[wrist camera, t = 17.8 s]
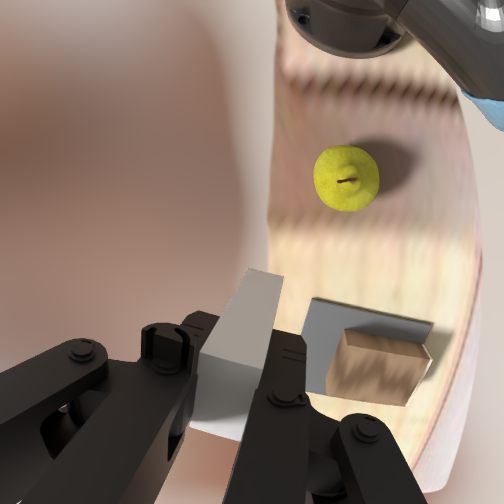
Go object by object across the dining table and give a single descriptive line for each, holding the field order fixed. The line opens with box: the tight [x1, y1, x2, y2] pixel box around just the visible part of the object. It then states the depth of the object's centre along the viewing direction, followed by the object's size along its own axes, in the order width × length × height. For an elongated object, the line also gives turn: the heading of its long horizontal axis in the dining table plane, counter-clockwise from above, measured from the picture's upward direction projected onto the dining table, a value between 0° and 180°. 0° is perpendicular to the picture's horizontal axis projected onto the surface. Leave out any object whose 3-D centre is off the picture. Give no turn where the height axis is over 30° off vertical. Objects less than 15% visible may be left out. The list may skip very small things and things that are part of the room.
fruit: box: [314, 145, 380, 212], centre depth 29 cm, size 7×7×12 cm
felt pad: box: [301, 298, 431, 395], centre depth 39 cm, size 14×17×1 cm
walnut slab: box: [325, 329, 433, 407], centre depth 37 cm, size 8×4×12 cm
